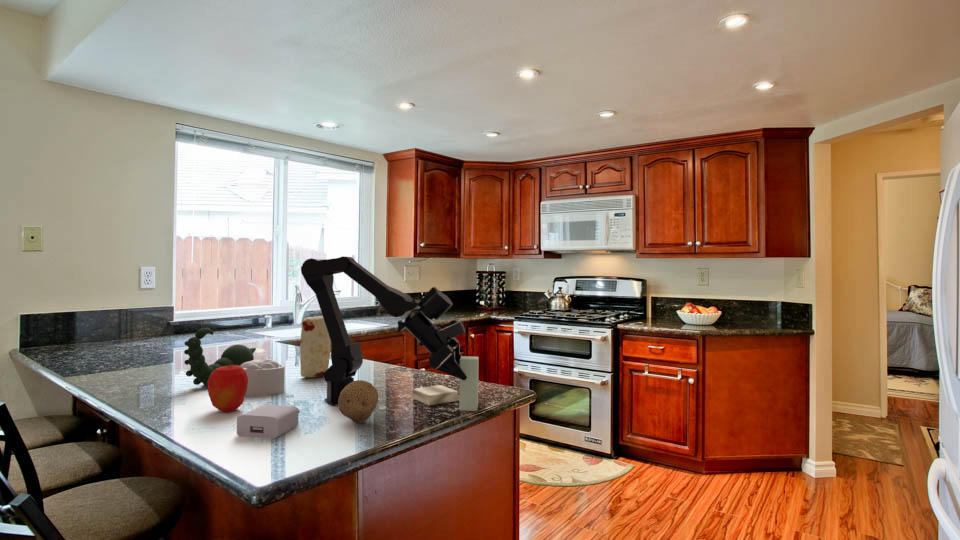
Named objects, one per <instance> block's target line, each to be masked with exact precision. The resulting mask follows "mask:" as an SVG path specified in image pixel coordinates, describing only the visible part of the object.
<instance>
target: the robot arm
mask: <svg viewBox="0 0 960 540" xmlns="http://www.w3.org/2000/svg"><path fill="white" fill-rule="evenodd" d="M300 272H301V275H302V277H303V279H304V281H305V283H306V285H307V286H308V287H309V288H310V289H311V290H312V291H313V293H314V295H315V297H316V299H317V304H318V305H319V309H320V312H321V316H323V318H324V322H325V325H326V328H327V331H328V334H329V337H330V340H331V347H330V359H331V360H330V361H331V365H330V366H328V369H327V370H326V371H325V372H324V373H323V376H322V377H323V378H324V381H325V382H326V398H324V399H323V400H324V402H326V403H328V404H329V405H331V406H338V399H339V396H340V393H341V391H342V390H343V389H344V388H345V387H346V386H347V385H348V384H350V383H351V382H353V381H355V379H354V378H355V377H356V374H357V371H358V370H359V369H360V368H361V367H362V365H363V362H364V361H363V360H364V359H363V357H364V356H365V355H364V353H363V352H362V349H361V345H360V342H359V341H357V342H353V341H352V339H351V338H350V337H349V333H348V331H347V326H346V324H345V321H344V319H343V315H342V312H341V308H340V305H339V304H338V299H337V298H336V297H337V296H336V295H335V291H334V277H335V276H334V275H336V274H341V273H343V274H345V275H347V277H349V278H350V279H352V280H353V281H354V282H355V283H357V284H358V285H359V286H361V287H362V288H364V290H366V291H367V292H369V293H370V294H371V295H373V297H375V298H376V299H377V301H378V302H379V304H380V306H381V307H383V309H384V310H385V311H386V312H387V313H388V314H389V315H390V316H392V317H393V318H399V317H404V316H406V317H405V318H404V319H403V320H402V319H401V320H398V321H397V332H398V333H400V332H403V331H404V330H405V329H406V330H407V331H408V332H409V333H410V334H411V335H412V336H413V337H414V338H415V339H416V340H417V341H418V342H419V343H418V345H419V346H420V347H424V348H425V350H427V351H428V352H429V353H430V355H429V356H430V357H428V365H429V366H430V367H431V368H432V369H433V370H435V369H436V371H439V372H441V373H444V374H447V375H450V376H452V377H455V378H457V379H459V380H460V379H462V380H466V379H467V376H466V375H465V373H464V372H463V370H462V369H461V367H460V358H461V356H462V354H461V351H460V350H461V344H460V341H459V340H458V339H457V338H456V337H458V336H462V335H464V334H465V333H466V332H467V331H466V329H465V326H464V323H463V322H462V320H459V321H458V320H457V319H455V318H454V319H452V320H451V321H449V322H448V324H449V326H446V327H444V328H441V327H440V326H438V325H437V326H435V325H434V323H432V322H431V321H432V320H433V319H434V320H437V321H438V320H440V318H441V317H442V316H443V315H444V314H445V313H446V312H447V311H448V310H449V309H450V308H451V307H452V306H453V301H452V300H451V299H450V297H448V295H447V294H444V293H443V292H442V291H441V290H440V289H438V288H437V287H436V286H432V287H431V288H430V289H429V290H428V292H427V293H426V294H425V295H424V296H423V297H422V299H413V298H412V297H411V295H409V294H408V293H405V292H403V291H401V290H399V289H397V288H394V287H392V286H390V285H387V284H386V283H385V282H383V281H382V280H381V279H380V278H378V277H377V276H376V275H374V274H373V273H372V272H371V271H369V270H367V269H366V268H365V267H364V266H363V265H361V264H360V263H359V262H357V261H356V260H355V259H354V257H351V256H343V255H342V256H340V257H334V258H328V259H324V258H307V259H305V260H304V261H303V263H302V265H301V267H300ZM414 310H417V311H416V312H415V313H414V314H413V313H411V312H412V311H414Z"/></svg>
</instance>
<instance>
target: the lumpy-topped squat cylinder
mask: <svg viewBox="0 0 960 540" xmlns="http://www.w3.org/2000/svg"><path fill="white" fill-rule="evenodd" d="M240 366H241V367H242V368H243V369H244V370H245V371H246V372H247V376H248V387H247V392H246V395H245V396H271V395H272V396H273V395H278V394H282V393H284V392H285V369H286V367H285V365H284V364H280V363H279V362H278V361H276V360H273V359H271V358H267V359H265V360H264V361H261V360H259V359H254V360H252V361H250V362H245V363H243V364H241V365H240Z"/></svg>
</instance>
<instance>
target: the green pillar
mask: <svg viewBox="0 0 960 540" xmlns="http://www.w3.org/2000/svg"><path fill="white" fill-rule="evenodd" d="M479 364H480V363H479V356H468V355H467V356H465V355H464V356H463V355H461V358H460V367H461V369H462V370H463V372H464V373H465V375H466V376H467V379H466V380H462V379H459V389H458V390H459V391H458V395H459V396H458V398H459V399H458V401H459V403H458V405H459V406H458V410H459V411H464V412H465V411H468V412H469V411H470V412H471V411H472V412H477V411H478V409H479V408H478V407H479V367H480V366H479Z"/></svg>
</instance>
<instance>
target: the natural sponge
mask: <svg viewBox="0 0 960 540" xmlns="http://www.w3.org/2000/svg"><path fill="white" fill-rule="evenodd" d="M378 403H379V392H378V389H377V388H376V387H375V386H374V385H373V384H372V383H371V382H369V381H366V380H363V379H362V380H360V379H358V380H357V379H356V380H354V381H353V382H351V383H350V384H348V385H347V386H346V387H345V388H344V389H343V390H342V391H341V393H340V396H339V399H338V405H337V406H338V411H339V413H340V414H341V415H342V416H344V417H345V418H348V419H350V420H351V422H353V423H354V424H357V425H359V424H363V423H365V422H366V421H368V419H370V417H371V416H372V415H373V413H374V411H375V409H376V408H377V405H378Z"/></svg>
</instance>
